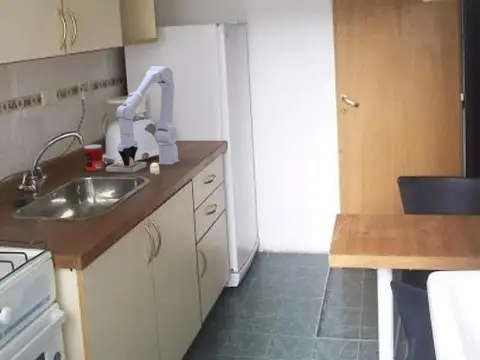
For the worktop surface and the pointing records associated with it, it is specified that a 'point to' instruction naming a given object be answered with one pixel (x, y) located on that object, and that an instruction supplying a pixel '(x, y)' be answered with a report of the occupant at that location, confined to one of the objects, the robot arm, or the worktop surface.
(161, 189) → the worktop surface
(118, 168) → the egg tray
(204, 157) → the worktop surface
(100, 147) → the canned food
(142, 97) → the robot arm
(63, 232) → the worktop surface
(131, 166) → the brown egg
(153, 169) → the cream egg loose
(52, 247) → the worktop surface
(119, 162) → the cream egg seated
